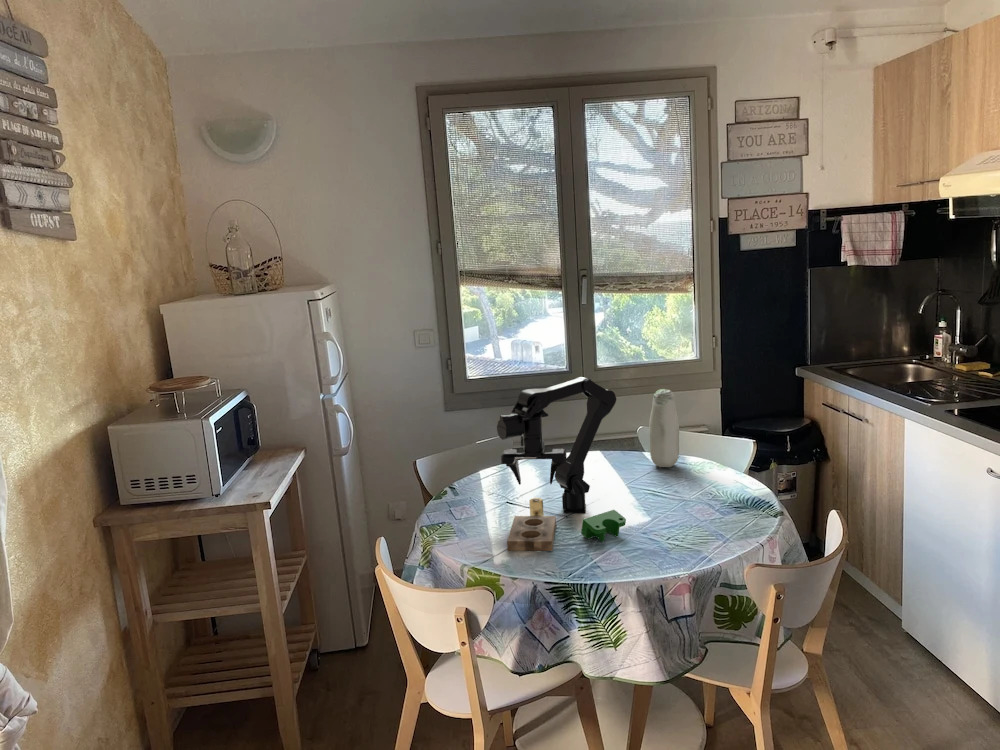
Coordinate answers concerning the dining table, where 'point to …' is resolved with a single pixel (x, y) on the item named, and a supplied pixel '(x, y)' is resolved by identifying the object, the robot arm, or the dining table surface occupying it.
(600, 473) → the dining table surface
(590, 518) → the clamp
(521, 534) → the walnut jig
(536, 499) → the brass sleeve
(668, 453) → the white bottle
